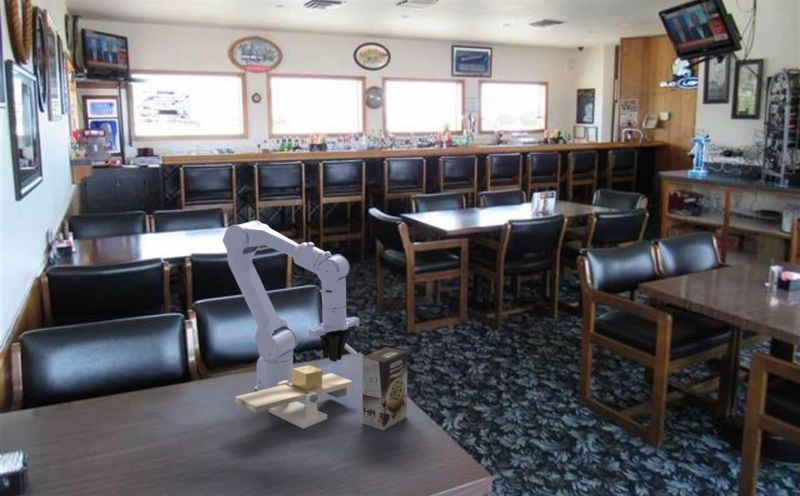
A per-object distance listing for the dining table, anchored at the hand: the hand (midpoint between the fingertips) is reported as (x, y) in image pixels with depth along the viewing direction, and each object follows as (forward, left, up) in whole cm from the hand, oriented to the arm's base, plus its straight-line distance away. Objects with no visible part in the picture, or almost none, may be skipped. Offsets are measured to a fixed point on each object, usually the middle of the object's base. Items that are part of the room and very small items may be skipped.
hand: (335, 359), depth 160 cm
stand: (0, -12, -10) cm, 16 cm away
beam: (0, -12, -7) cm, 14 cm away
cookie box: (+17, 0, -11) cm, 20 cm away
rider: (0, -9, -4) cm, 10 cm away
